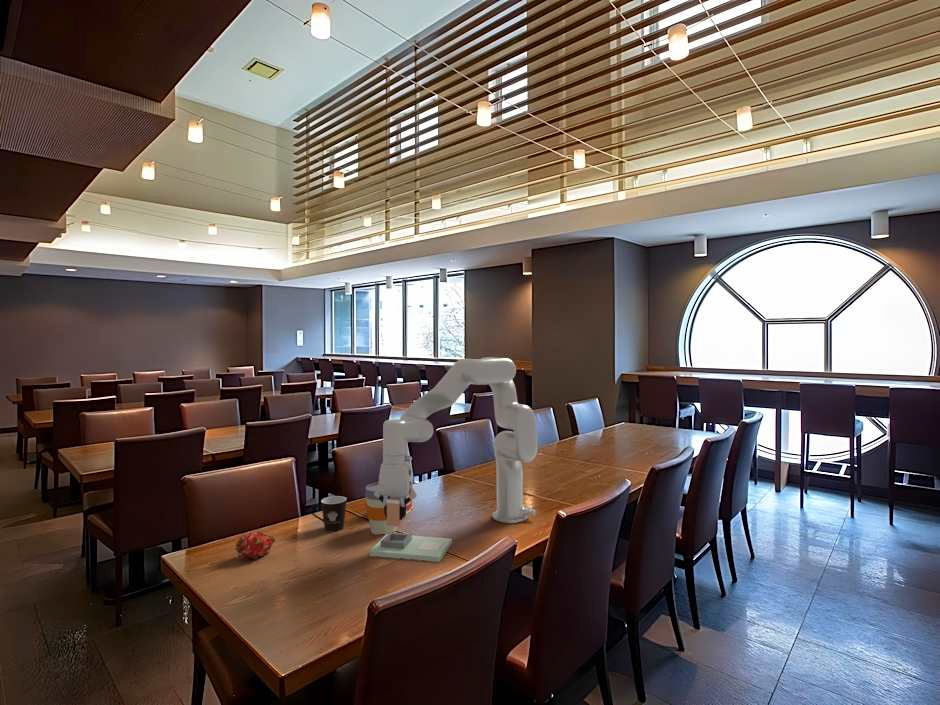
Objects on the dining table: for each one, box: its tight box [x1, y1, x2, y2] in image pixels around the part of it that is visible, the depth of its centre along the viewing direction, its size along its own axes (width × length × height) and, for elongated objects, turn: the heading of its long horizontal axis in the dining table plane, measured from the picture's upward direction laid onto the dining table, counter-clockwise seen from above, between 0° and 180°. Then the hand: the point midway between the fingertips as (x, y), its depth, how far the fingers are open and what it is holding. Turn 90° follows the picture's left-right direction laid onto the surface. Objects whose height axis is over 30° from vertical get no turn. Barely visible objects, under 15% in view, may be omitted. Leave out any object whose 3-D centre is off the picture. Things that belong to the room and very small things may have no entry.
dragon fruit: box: [234, 530, 276, 560], centre depth 153 cm, size 8×8×12 cm
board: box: [369, 532, 453, 563], centre depth 157 cm, size 22×14×3 cm, turn 78°
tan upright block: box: [387, 496, 404, 527], centre depth 158 cm, size 4×4×8 cm
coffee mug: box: [309, 495, 348, 533], centre depth 176 cm, size 12×9×10 cm
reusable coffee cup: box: [364, 481, 398, 535], centre depth 174 cm, size 13×12×15 cm
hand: (395, 517), depth 158 cm, fingers closed on tan upright block, 4 cm apart
